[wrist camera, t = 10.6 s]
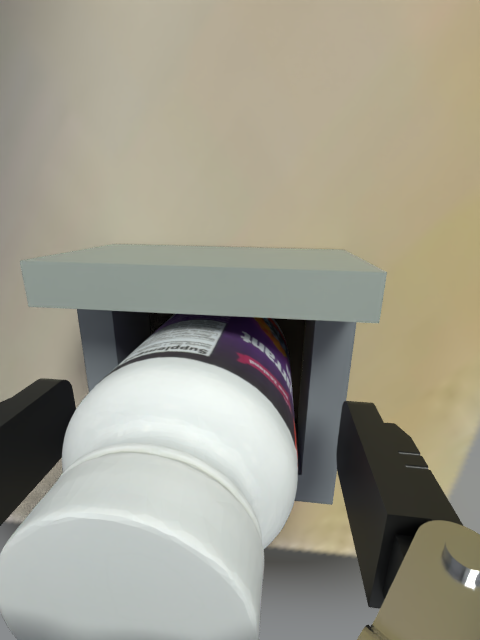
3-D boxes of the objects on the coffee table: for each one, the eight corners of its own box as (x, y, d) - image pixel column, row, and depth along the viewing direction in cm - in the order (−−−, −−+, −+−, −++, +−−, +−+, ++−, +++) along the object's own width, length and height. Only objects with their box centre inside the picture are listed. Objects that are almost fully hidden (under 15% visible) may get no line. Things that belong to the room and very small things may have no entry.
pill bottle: (303, 394, 14) (349, 737, 5) (189, 418, 15) (45, 736, 6) (269, 275, 13) (243, 433, 3) (146, 310, 14) (-130, 503, 4)
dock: (114, 243, 13) (19, 260, 8) (344, 249, 12) (386, 272, 7) (134, 432, 16) (71, 526, 11) (322, 448, 15) (342, 559, 10)
